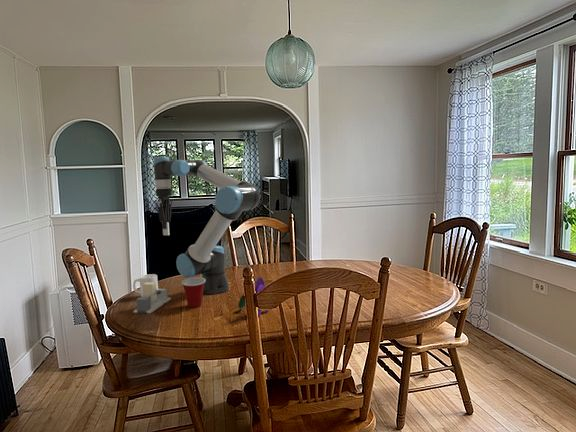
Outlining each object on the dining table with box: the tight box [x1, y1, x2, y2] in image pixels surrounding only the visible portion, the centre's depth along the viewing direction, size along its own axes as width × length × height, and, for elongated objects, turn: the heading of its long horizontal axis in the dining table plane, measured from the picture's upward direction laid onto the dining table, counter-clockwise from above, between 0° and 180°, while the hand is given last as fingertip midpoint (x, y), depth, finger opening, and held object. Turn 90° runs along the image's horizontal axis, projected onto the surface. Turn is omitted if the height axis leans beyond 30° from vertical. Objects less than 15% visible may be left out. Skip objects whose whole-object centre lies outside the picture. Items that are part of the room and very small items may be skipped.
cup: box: [132, 273, 159, 297], centre depth 215 cm, size 8×12×10 cm
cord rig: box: [133, 288, 172, 314], centre depth 199 cm, size 20×8×6 cm, turn 170°
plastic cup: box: [180, 276, 206, 309], centre depth 196 cm, size 11×11×12 cm
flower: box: [237, 277, 269, 316], centre depth 186 cm, size 15×15×14 cm
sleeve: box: [143, 282, 157, 304], centre depth 197 cm, size 4×5×9 cm
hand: (166, 235), depth 218 cm, fingers closed
